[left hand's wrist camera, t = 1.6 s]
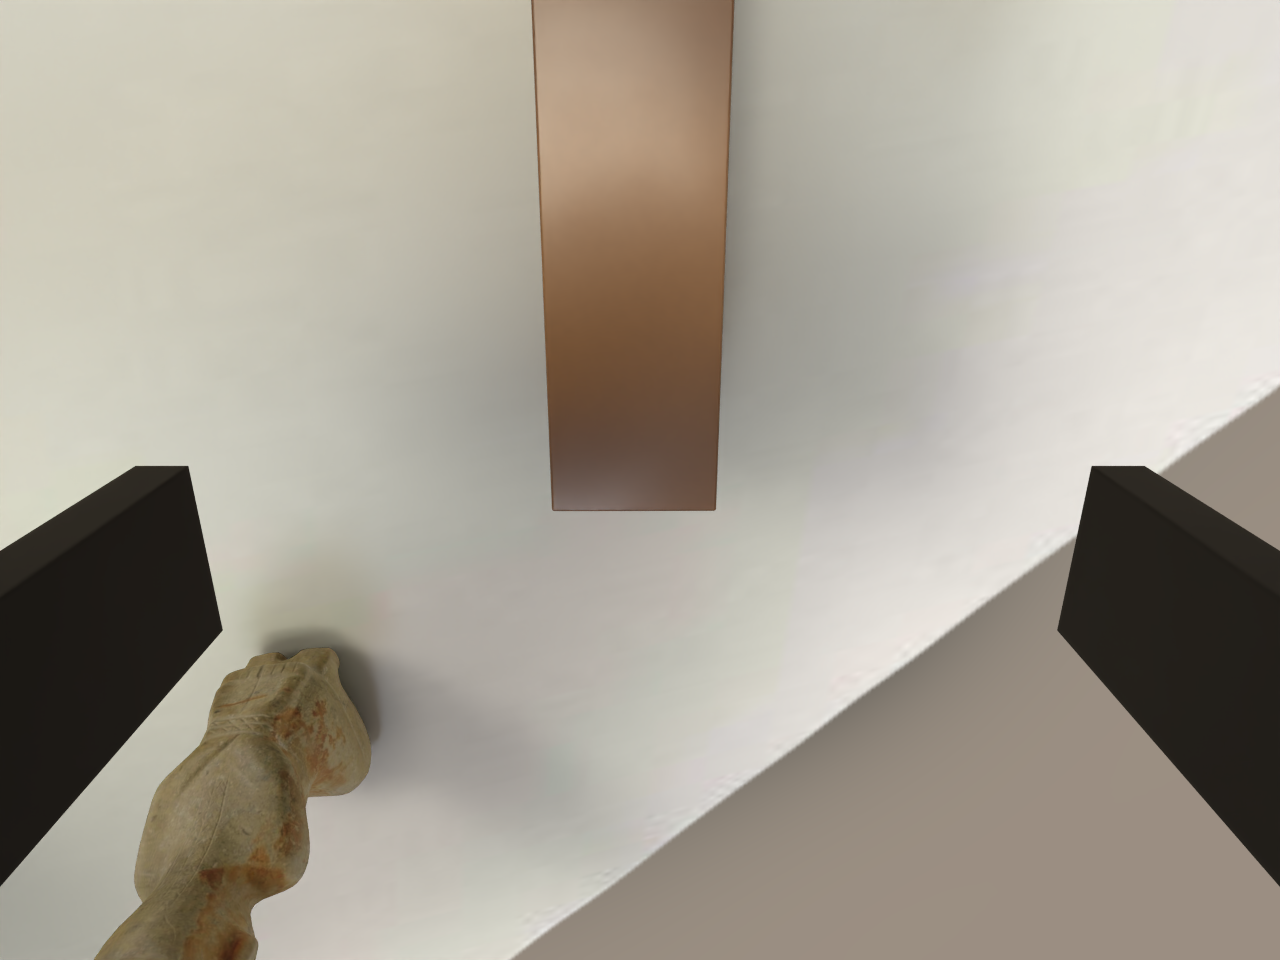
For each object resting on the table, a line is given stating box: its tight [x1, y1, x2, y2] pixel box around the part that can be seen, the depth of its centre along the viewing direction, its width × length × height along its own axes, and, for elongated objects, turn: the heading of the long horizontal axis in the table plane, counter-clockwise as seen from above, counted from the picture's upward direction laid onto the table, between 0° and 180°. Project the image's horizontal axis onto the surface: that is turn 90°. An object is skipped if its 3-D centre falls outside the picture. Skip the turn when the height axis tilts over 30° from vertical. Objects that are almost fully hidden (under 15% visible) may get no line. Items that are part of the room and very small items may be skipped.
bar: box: [531, 0, 735, 511], centre depth 23 cm, size 26×5×9 cm, turn 0°
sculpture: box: [94, 648, 371, 960], centre depth 30 cm, size 6×7×15 cm
